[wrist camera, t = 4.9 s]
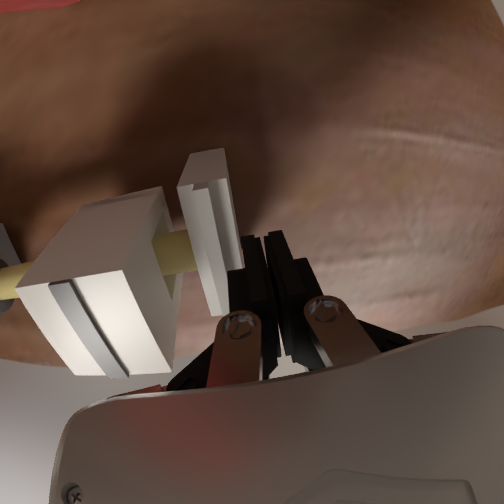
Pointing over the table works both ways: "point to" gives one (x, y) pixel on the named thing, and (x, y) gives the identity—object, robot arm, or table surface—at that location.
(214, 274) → the rail
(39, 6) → the flower pot
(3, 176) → the table surface
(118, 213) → the grooved sliding block
